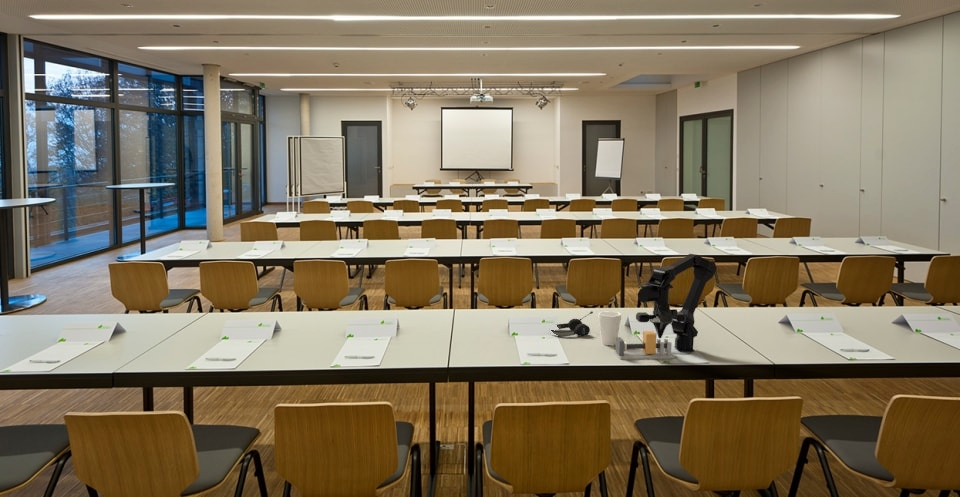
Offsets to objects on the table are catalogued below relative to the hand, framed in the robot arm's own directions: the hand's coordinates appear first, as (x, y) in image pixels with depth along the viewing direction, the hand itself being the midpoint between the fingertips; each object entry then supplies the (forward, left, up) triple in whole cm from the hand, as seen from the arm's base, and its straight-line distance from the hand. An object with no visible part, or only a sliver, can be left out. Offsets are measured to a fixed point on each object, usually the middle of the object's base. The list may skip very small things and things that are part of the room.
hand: (659, 338), depth 290 cm
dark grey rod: (+6, 0, -5) cm, 8 cm away
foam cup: (+16, -18, -7) cm, 25 cm away
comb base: (+6, 0, -7) cm, 9 cm away
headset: (+29, -36, -8) cm, 47 cm away
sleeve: (+4, 0, -6) cm, 7 cm away
